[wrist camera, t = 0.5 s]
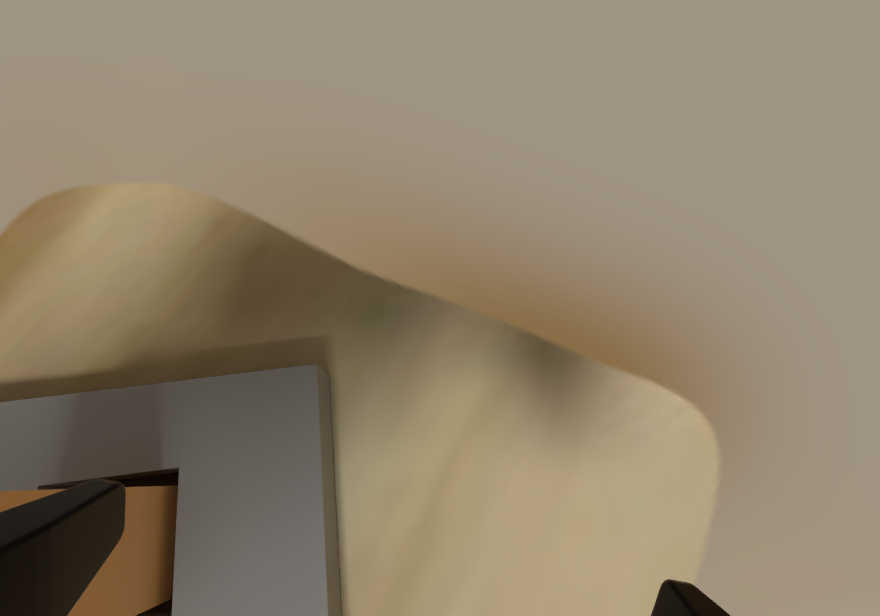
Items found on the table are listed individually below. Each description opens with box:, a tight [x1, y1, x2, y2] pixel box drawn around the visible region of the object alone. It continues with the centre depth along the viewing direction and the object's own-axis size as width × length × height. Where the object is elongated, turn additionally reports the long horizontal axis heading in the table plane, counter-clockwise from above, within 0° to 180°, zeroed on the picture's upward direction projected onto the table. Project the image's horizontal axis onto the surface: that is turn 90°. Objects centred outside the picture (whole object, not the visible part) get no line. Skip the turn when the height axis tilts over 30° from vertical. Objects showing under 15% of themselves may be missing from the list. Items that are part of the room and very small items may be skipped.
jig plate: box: [0, 364, 342, 616], centre depth 18 cm, size 12×16×2 cm
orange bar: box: [0, 486, 178, 616], centre depth 15 cm, size 4×4×10 cm
